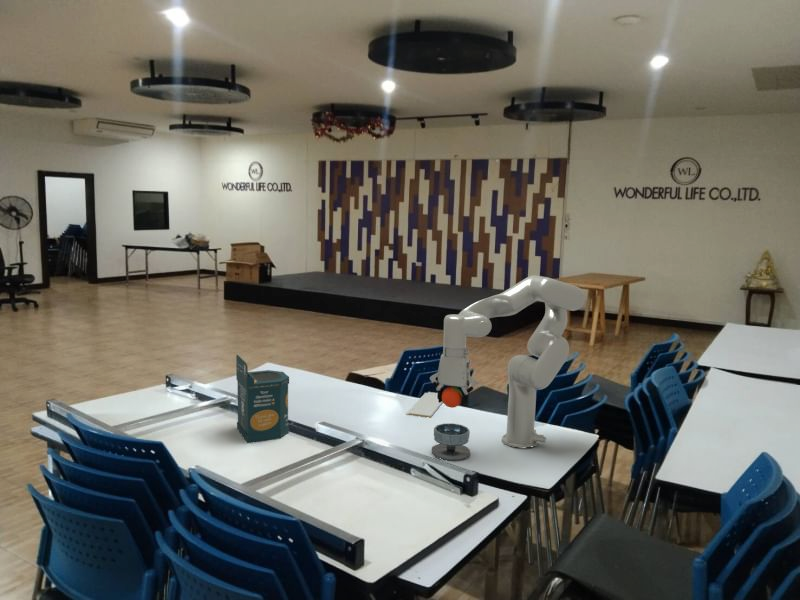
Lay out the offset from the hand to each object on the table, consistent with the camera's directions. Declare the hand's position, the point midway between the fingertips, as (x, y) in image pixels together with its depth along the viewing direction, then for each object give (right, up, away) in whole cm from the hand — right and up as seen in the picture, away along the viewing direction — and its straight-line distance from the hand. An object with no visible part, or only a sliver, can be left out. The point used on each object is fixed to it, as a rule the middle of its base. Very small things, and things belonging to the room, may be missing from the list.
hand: (452, 402), depth 205 cm
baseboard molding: (-7, -11, +54) cm, 55 cm away
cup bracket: (0, -17, +2) cm, 18 cm away
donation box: (-67, -14, +17) cm, 70 cm away
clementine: (0, -2, 0) cm, 2 cm away
